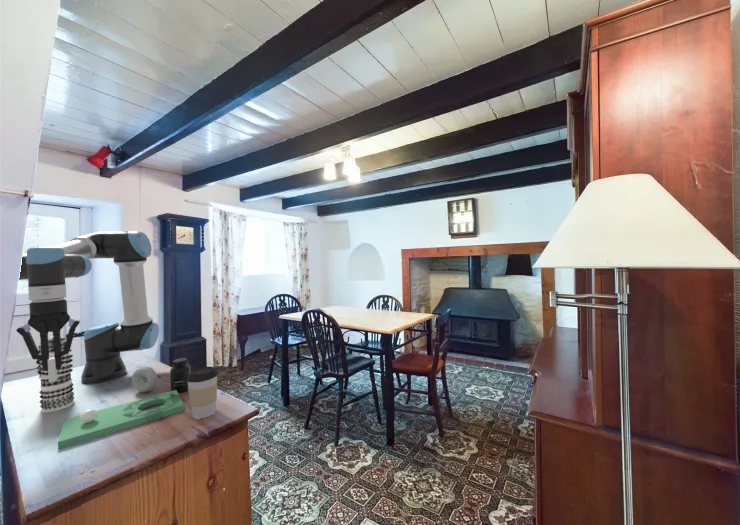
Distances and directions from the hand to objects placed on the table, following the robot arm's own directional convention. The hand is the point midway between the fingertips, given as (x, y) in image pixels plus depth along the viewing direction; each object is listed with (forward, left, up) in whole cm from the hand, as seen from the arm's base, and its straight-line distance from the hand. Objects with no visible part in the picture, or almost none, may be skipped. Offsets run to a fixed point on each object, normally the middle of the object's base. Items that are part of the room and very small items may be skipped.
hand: (53, 380), depth 89 cm
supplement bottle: (-12, +33, -18) cm, 39 cm away
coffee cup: (+15, +36, -18) cm, 43 cm away
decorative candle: (-28, -3, -18) cm, 33 cm away
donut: (-20, +22, -18) cm, 35 cm away
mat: (0, +16, -17) cm, 24 cm away
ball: (0, +7, -13) cm, 15 cm away
